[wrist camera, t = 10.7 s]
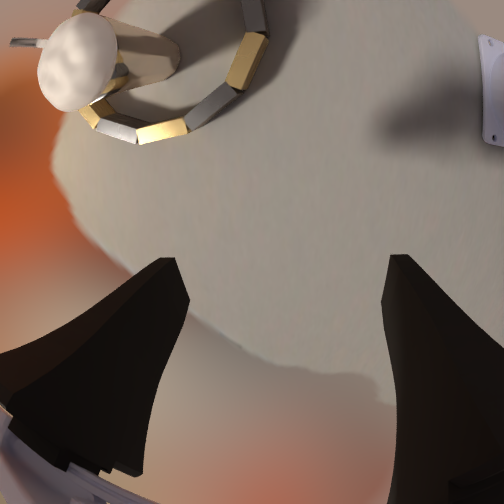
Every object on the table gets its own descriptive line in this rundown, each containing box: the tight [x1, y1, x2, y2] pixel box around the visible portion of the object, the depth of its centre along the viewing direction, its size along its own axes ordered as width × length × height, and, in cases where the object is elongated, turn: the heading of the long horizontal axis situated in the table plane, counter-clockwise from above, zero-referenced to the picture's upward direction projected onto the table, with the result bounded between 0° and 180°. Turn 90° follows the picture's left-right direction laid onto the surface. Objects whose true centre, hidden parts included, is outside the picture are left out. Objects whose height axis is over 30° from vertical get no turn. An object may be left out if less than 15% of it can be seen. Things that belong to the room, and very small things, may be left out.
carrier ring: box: [72, 0, 270, 144], centre depth 12 cm, size 14×14×2 cm
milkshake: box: [9, 12, 181, 112], centre depth 10 cm, size 5×5×10 cm
